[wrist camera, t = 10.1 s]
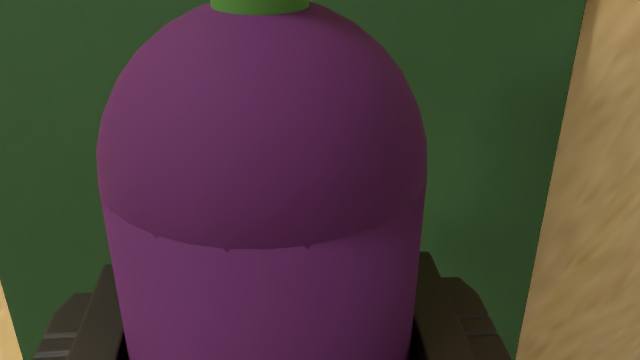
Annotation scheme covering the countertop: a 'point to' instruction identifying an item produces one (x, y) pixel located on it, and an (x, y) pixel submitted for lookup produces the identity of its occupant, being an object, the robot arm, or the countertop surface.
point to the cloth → (404, 48)
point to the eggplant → (263, 188)
